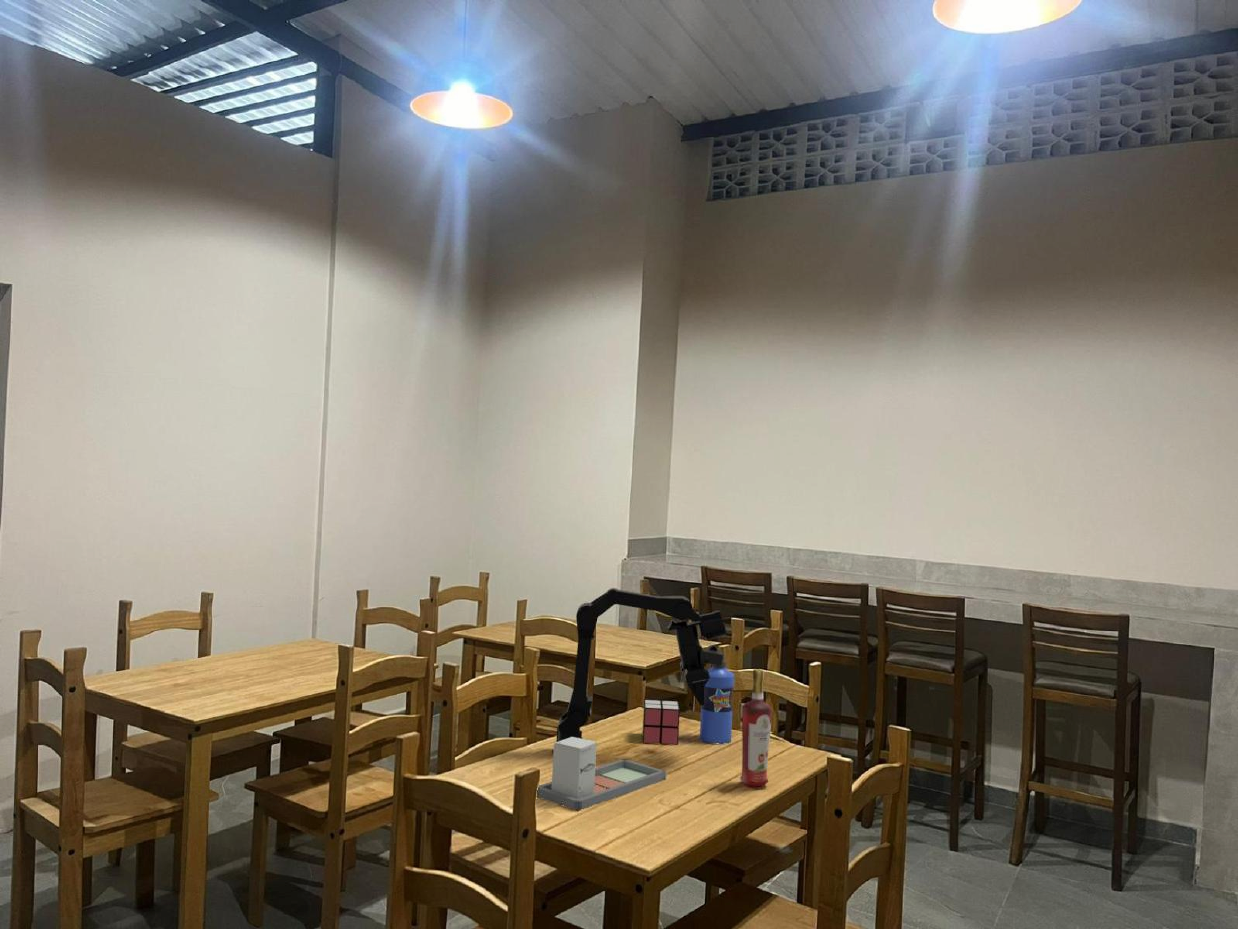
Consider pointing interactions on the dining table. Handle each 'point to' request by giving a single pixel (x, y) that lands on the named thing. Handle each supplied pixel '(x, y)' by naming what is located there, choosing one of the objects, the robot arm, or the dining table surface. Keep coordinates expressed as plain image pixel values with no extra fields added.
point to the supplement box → (574, 767)
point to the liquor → (755, 735)
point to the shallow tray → (608, 784)
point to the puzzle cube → (661, 722)
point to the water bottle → (717, 706)
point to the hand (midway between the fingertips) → (700, 701)
